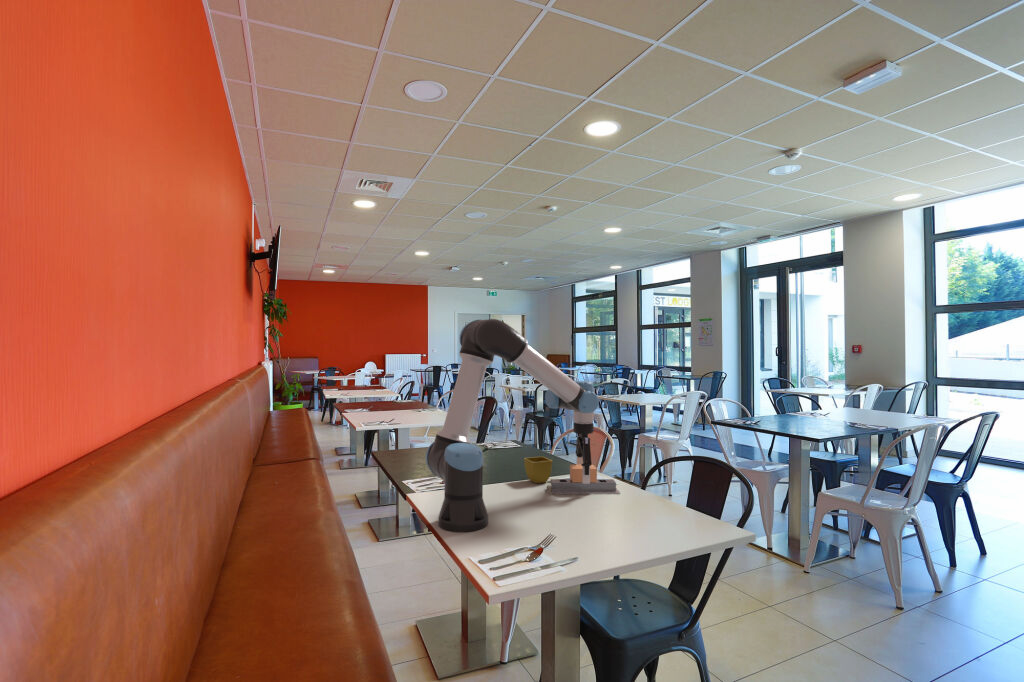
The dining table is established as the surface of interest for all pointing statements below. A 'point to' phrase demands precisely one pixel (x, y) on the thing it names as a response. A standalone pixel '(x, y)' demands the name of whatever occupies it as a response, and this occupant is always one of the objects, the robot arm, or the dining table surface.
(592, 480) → the orange tapered block
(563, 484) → the rail
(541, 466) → the flower pot
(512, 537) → the dining table surface
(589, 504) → the dining table surface
